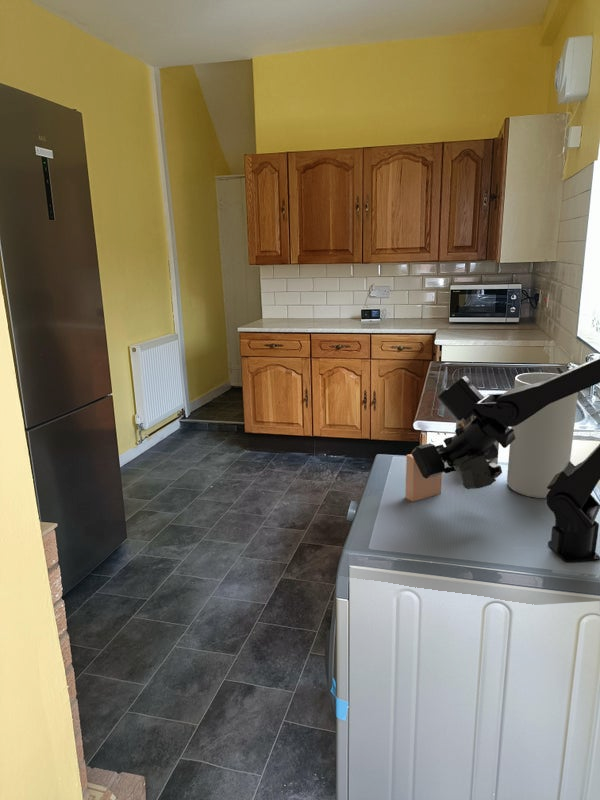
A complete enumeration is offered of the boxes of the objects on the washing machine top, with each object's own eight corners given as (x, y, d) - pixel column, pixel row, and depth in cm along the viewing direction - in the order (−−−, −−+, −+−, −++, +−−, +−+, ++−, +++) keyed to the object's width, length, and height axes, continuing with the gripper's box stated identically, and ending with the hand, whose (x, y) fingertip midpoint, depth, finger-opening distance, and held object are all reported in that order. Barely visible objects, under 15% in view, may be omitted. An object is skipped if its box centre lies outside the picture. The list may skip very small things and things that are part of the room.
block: (440, 493, 127) (442, 451, 124) (412, 501, 123) (413, 458, 120) (432, 489, 129) (434, 447, 126) (404, 497, 125) (406, 454, 122)
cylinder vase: (494, 483, 131) (502, 377, 124) (532, 472, 136) (542, 370, 130) (540, 504, 120) (551, 389, 113) (579, 491, 126) (592, 381, 119)
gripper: (459, 485, 101) (416, 517, 113) (532, 464, 109) (485, 495, 122) (431, 431, 105) (393, 467, 118) (503, 414, 114) (460, 449, 126)
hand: (434, 471), depth 121 cm, fingers closed
